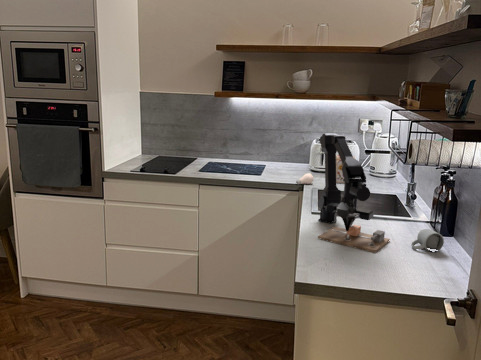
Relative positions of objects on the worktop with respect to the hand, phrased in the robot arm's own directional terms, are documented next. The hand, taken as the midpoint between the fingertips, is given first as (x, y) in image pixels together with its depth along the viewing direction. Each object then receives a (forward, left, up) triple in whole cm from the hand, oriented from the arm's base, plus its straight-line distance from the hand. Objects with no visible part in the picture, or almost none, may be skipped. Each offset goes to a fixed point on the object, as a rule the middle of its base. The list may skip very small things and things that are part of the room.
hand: (347, 231), depth 198 cm
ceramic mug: (+30, +6, -2) cm, 31 cm away
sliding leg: (+3, -2, -1) cm, 4 cm away
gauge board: (+4, -3, -2) cm, 5 cm away
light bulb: (-57, +70, -2) cm, 90 cm away
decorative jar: (-42, +93, -2) cm, 102 cm away
